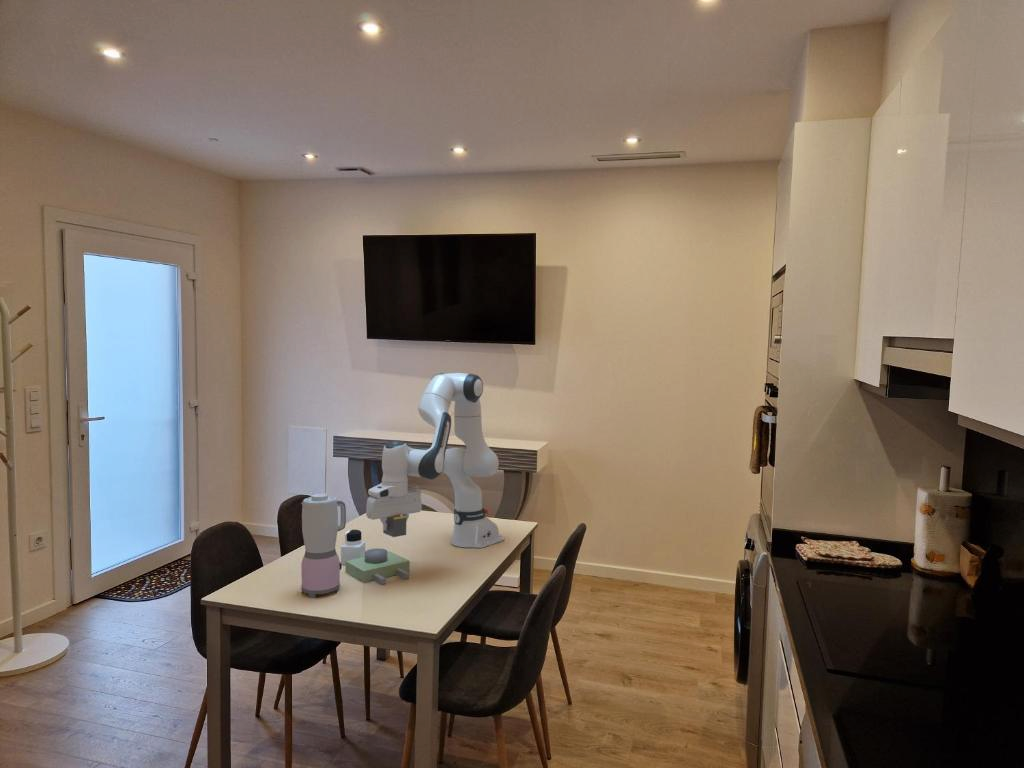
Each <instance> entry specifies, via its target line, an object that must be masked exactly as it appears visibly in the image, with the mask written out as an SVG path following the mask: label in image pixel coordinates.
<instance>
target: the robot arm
mask: <svg viewBox="0 0 1024 768" xmlns="http://www.w3.org/2000/svg"><path fill="white" fill-rule="evenodd" d="M483 391H484V383H483V380H482V378H481V376H480V375H477V374H475V373H465V372H464V373H463V372H455V373H454V372H453V373H451V372H450V373H449V372H447V373H437V374H435V375H433V376H432V378H431V380H430V382H429V383H428V385H426V388H425V389H424V392H423V393H422V394H421V395H422V396H421V398H420V399H419V402H418V403H419V404H418V408H417V410H418V413H419V416H420V417H421V419H422V420H423V421H424V422H425V423H427V424H429V425H430V426H432V427H434V428H435V429H434V430H435V431H434V435H433V439H432V442H431V446H430V448H428V449H421V448H420V449H418V448H412V447H410V446H409V445H407V444H406V442H405V441H404V440H393V441H389V442H387V443H385V444H384V446H383V449H382V457H381V470H382V477H381V482H380V483H379V484H377V485H375V486H373V487H371V488H369V489H368V492H367V493H368V495H369V496H368V497H367V500H366V509H365V515H366V517H367V519H369V520H372V521H373V520H379V519H380V523H382V525H383V526H382V530H383V529H384V530H389V529H390V528H389V527H390V525H388V524H387V523H386V520H387V517H392V516H399V515H401V516H406V522H407V521H408V519H409V518H410V515H411V514H416V513H420V512H421V511H422V509H423V507H422V504H423V503H422V497H421V494H422V490H421V488H420V487H419V486H417V485H413V486H409V484H408V483H409V478H408V476H411V477H417V478H418V477H419V478H423V479H428V480H435V479H436V478H438V477H439V476H441V474H442V473H443V472H444V474H445V475H447V478H449V480H450V482H451V484H452V487H453V492H454V510H453V522H454V526H453V534H452V538H451V542H450V543H451V544H452V545H453V546H455V547H459V548H476V549H484V548H486V547H488V546H492V545H494V544H498V543H500V542H503V541H505V537H504V536H503V535H501V534H500V532H499V527H498V525H497V524H496V523H495V522H493V521H492V520H491V519H490V518H489V517H487V516H486V515H489V514H490V513H491V510H490V509H489V508H484V507H483V491H482V489H481V487H480V486H479V485H478V484H476V483H475V482H474V481H473V480H472V477H478V478H479V477H481V478H482V477H490V476H494V474H496V473H497V471H498V469H499V463H500V462H499V457H498V455H497V454H496V453H495V452H494V451H493V450H492V449H491V448H490V447H489V445H488V444H487V442H486V440H485V438H484V435H483V434H484V433H483V428H482V427H483V426H482V423H483V422H482V406H481V396H482V395H483V393H484V392H483ZM452 402H454V405H453V406H454V408H453V409H454V411H453V419H454V420H453V424H454V428H453V429H454V435H455V436H456V438H457V439H459V440H460V441H461V442H463V443H464V446H465V448H463V447H451V448H447V447H448V442H449V440H450V439H449V438H450V433H451V430H452V429H451V428H452V417H451V414H449V409H450V407H451V404H452Z"/></svg>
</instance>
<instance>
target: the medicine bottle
mask: <svg viewBox="0 0 1024 768" xmlns="http://www.w3.org/2000/svg"><path fill="white" fill-rule="evenodd" d="M365 551H366V541H364V540H362V531H361V530H360V529H349V530H346V531H345V532H344V543H343V544H342V545H341V546H340V563H341V565H342V566H345V561H348V560H352V559H357V558H361V557H365Z"/></svg>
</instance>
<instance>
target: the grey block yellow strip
mask: <svg viewBox="0 0 1024 768" xmlns="http://www.w3.org/2000/svg"><path fill="white" fill-rule="evenodd" d="M386 523H387V524H388V525H390V527H389V528H390V529H389V530H384V529H383V528H382V531H383V534H385V535H387V536H390V537H392V538H396V537H402V536H406V535H407V521H406V516H402V515H399V516H392V517H387V520H386Z"/></svg>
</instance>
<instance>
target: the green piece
mask: <svg viewBox="0 0 1024 768" xmlns="http://www.w3.org/2000/svg"><path fill="white" fill-rule="evenodd" d="M344 566H345V573H347V574H348V575H350V576H352V577H353V578H355V579H356V580H359V582H362V583H363V584H364V583H368V582H372V581H374V582H376V583H378V584H379V585H380V586H384V585H387V578H389V577H392V576H398V577H400V578H402V579H404V580H408V579H410V560H409V559H408V558H407V559H406V558H405V557H403V556H401V555H398V554H397V553H394V552H393V551H388V550H387V549H385V548H370V549H367V550H365V557H361V558H357V559H352V560H348V561H345V565H344Z"/></svg>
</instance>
